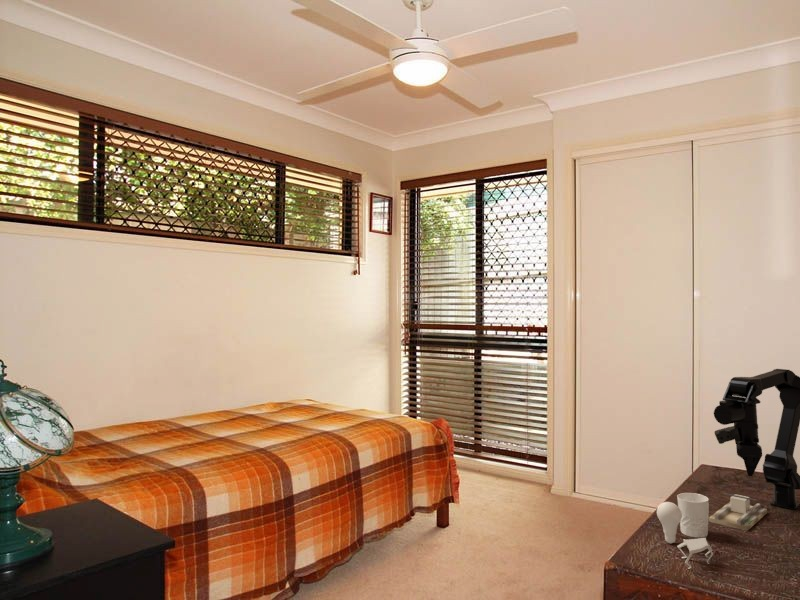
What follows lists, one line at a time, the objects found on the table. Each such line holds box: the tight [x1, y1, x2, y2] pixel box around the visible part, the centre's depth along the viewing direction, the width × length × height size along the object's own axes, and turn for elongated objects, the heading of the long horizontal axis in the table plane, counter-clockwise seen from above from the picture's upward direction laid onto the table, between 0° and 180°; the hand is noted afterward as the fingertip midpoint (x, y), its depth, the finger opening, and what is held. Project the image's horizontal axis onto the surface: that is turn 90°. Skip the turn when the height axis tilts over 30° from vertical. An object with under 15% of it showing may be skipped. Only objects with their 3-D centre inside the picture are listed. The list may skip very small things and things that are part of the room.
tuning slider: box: [722, 492, 758, 514], centre depth 170 cm, size 4×9×4 cm, turn 42°
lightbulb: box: [656, 501, 682, 544], centre depth 153 cm, size 6×6×11 cm
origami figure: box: [676, 537, 714, 570], centre depth 141 cm, size 12×8×5 cm
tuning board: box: [708, 501, 768, 532], centre depth 169 cm, size 18×10×2 cm, turn 132°
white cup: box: [676, 492, 710, 539], centre depth 159 cm, size 8×8×10 cm
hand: (749, 471), depth 170 cm, fingers open, 9 cm apart
